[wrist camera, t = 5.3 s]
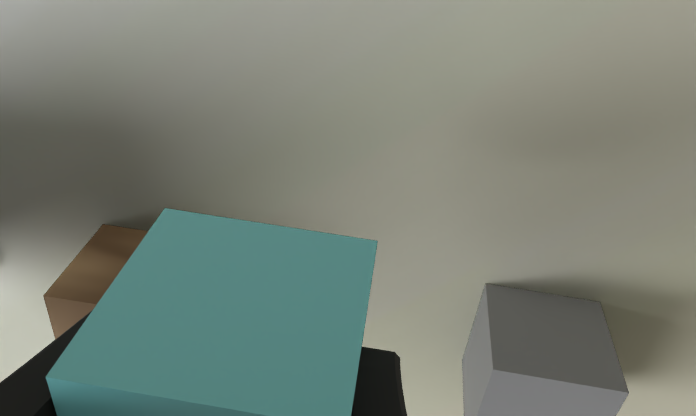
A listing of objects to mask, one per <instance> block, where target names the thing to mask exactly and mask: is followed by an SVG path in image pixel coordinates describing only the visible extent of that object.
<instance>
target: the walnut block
mask: <svg viewBox="0 0 696 416" xmlns="http://www.w3.org/2000/svg"><path fill="white" fill-rule="evenodd" d="M147 233H148V231H145V230H138V229H131V228H125V227H118V226H112V225H105V224H103V225H102V226H101V227H100V228H99V230H98V231H97V232H96V233H95V234H94V236H93V237H92V238H91V239H90V240H89V242H88V243H87V244H86V245H85V246H84V248H83V249H82V250H81V251H80V252H79V254H78V255H77V256H76V257H75V258H74V260H73V261H72V262H71V263H70V264H69V266H68V267H67V268H66V269H65V270H64V272H63V273H62V274H61V275H60V276H59V278H58V279H57V280H56V281H55V282H54V284H53V285H52V286H51V287H50V288H49V290H48V291H47V292H46V293H45V294H44V300H45V304H46V307H47V311H48V314H49V318H50V322H51V325H52V329H53V332H54V336H55V339H57V338H58V337H59V336H60V335H62V334H63V333H64V332H65V331H67V330H68V329H69V328H70V327H72V326H73V325H74V324H75V323H77V322H78V321H79V320H80V319H82V318H83V317H84V316H85V315H87V314H88V313H89V312H91V311H92V310H93V309H94V308H95V306H96V305H97V303H98V302H99V301H100V299H101V298H102V296H103V295H104V294H105V292H106V291H107V289H108V288H109V286H110V285H111V284H112V282H113V281H114V279H115V278H116V277H117V275H118V274H119V272H120V271H121V269H122V268H123V267H124V265H125V264H126V262H127V261H128V260H129V258H130V257H131V255H132V254H133V252H134V251H135V250H136V248H137V247H138V245H139V244H140V243H141V241H142V240H143V238H144V237H145V235H146V234H147Z"/></svg>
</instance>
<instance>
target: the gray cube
mask: <svg viewBox="0 0 696 416" xmlns="http://www.w3.org/2000/svg"><path fill="white" fill-rule="evenodd" d="M462 371H463V401H464V416H616V415H617V413H618V411H619V410H620V408H621V406H622V404H623V402H624V401H625V399H626V397H627V395H628V394H629V391H628V388H627V385H626V382H625V379H624V376H623V373H622V369H621V366H620V363H619V360H618V357H617V354H616V351H615V348H614V344H613V341H612V338H611V335H610V332H609V329H608V326H607V322H606V319H605V316H604V313H603V310H602V307H601V304H600V302H597V301H591V300H585V299H579V298H573V297H566V296H560V295H554V294H548V293H542V292H536V291H529V290H523V289H517V288H511V287H505V286H498V285H492V284H485V287H484V290H483V293H482V297H481V300H480V303H479V307H478V310H477V313H476V316H475V320H474V323H473V326H472V329H471V333H470V336H469V339H468V342H467V346H466V349H465V352H464V356H463V359H462Z"/></svg>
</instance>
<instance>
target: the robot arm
mask: <svg viewBox="0 0 696 416" xmlns="http://www.w3.org/2000/svg"><path fill="white" fill-rule="evenodd" d="M92 311H93V310H92ZM92 311H91V312H92ZM91 312H89V313H88V314H87V315H85V316H84V317H83V318H82V319H80V320H79V321H78V322H77V323H75V324H74V325H73V326H72V327H70V328H69V329H68V330H67V331H65V332H64V333H63V334H62V335H60V336H59V337H58V338H57V339H55V340H54V341H53V342H52V343H51V344H49V345H48V346H47V347H45V348H44V349H43V350H42V351H40V352H39V353H38V354H37V355H35V356H34V357H33V358H32V359H30V360H29V361H28V362H27V363H25V364H24V365H23V366H21V367H20V368H19V369H18V370H16V371H15V372H14V373H12V374H11V375H10V376H8V377H7V378H6V379H4V380H3V381H2V382H1V383H0V416H57V414H56V410H55V407H54V404H53V400H52V397H51V393H50V390H49V387H48V383H47V380H46V376H47V374H48V373H49V371H50V370H51V369H52V367H53V366H54V364H55V363H56V361H57V360H58V359H59V357H60V356H61V354H62V353H63V352H64V350H65V349H66V347H67V346H68V344H69V343H70V342H71V340H72V339H73V337H74V336H75V335H76V333H77V332H78V330H79V329H80V328H81V326H82V325H83V323H84V322H85V320H86V319H87V318H88V316H89V315H90V313H91ZM351 416H407V413H406V408H405V402H404V396H403V389H402V382H401V371H400V357H399V356H398V355H397V354H396V353H395V352H391V351H385V350H379V349H373V348H366V347H361V354H360V360H359V367H358V373H357V380H356V386H355V393H354V399H353V406H352V413H351Z"/></svg>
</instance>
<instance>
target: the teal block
mask: <svg viewBox="0 0 696 416" xmlns="http://www.w3.org/2000/svg"><path fill="white" fill-rule="evenodd" d="M377 242H378V241H375V240H368V239H362V238H355V237H349V236H342V235H336V234H329V233H323V232H316V231H310V230H304V229H297V228H291V227H284V226H278V225H271V224H265V223H258V222H252V221H245V220H239V219H232V218H226V217H219V216H213V215H206V214H200V213H193V212H187V211H181V210H174V209H168V208H165V209H164V210H163V211H162V213H161V214H160V216H159V217H158V218H157V220H156V221H155V223H154V224H153V226H152V227H151V228H150V230H149V231H148V233H147V234H146V235H145V237H144V238H143V240H142V241H141V243H140V244H139V245H138V247H137V248H136V250H135V251H134V252H133V254H132V255H131V257H130V258H129V260H128V261H127V262H126V264H125V265H124V267H123V268H122V269H121V271H120V272H119V274H118V275H117V277H116V278H115V279H114V281H113V282H112V284H111V285H110V286H109V288H108V289H107V291H106V292H105V294H104V295H103V296H102V298H101V299H100V301H99V302H98V303H97V305H96V306H95V308H94V309H93V311H92V312H91V313H90V315H89V316H88V318H87V319H86V320H85V322H84V323H83V325H82V326H81V328H80V329H79V330H78V332H77V333H76V335H75V336H74V337H73V339H72V340H71V342H70V343H69V344H68V346H67V347H66V349H65V350H64V352H63V353H62V354H61V356H60V357H59V359H58V360H57V361H56V363H55V364H54V366H53V367H52V369H51V370H50V371H49V373H48V374H47V376H46V380H47V383H48V387H49V390H50V393H51V397H52V400H53V404H54V407H55V410H56V414H57V416H351V413H352V406H353V399H354V393H355V386H356V380H357V373H358V367H359V360H360V354H361V347H362V341H363V335H364V328H365V321H366V315H367V308H368V301H369V295H370V288H371V282H372V275H373V268H374V262H375V255H376V248H377Z"/></svg>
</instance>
